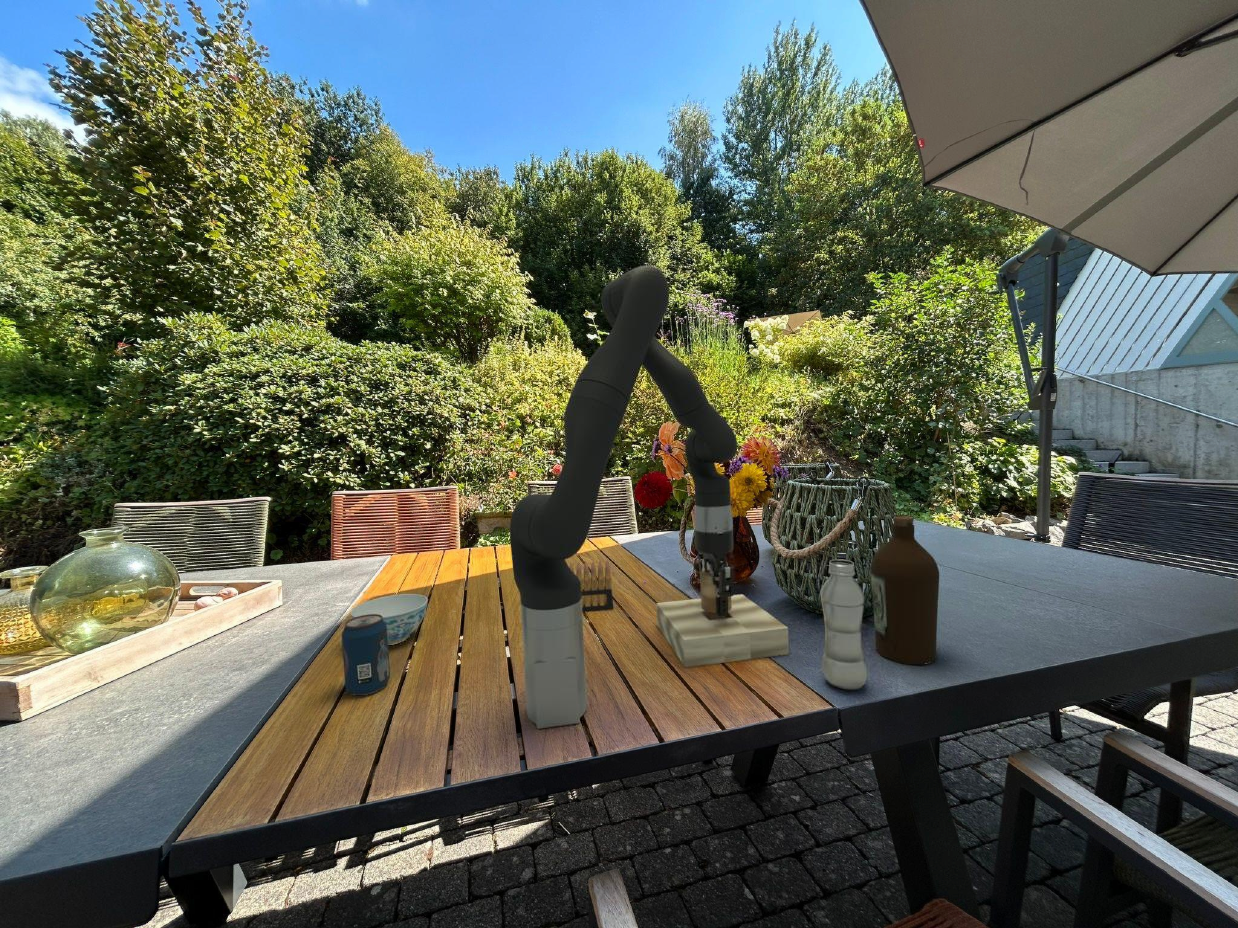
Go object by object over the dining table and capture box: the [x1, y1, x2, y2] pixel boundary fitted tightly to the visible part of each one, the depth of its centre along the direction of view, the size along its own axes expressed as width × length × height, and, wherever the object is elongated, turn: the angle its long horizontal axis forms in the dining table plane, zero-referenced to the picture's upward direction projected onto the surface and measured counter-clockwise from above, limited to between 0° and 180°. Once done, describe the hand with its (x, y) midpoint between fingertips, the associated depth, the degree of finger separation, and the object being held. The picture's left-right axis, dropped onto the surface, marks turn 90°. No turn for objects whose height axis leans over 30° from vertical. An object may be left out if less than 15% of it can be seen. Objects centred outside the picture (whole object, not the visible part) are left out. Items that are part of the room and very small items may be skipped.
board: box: [656, 594, 790, 668], centre depth 97 cm, size 20×20×5 cm
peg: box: [699, 571, 732, 620], centre depth 96 cm, size 6×6×12 cm
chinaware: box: [349, 593, 429, 644], centre depth 103 cm, size 15×15×8 cm
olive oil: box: [870, 515, 940, 665], centre depth 86 cm, size 11×11×25 cm
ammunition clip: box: [569, 560, 614, 613], centre depth 116 cm, size 11×2×12 cm, turn 96°
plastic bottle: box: [820, 559, 868, 691], centre depth 77 cm, size 6×7×20 cm
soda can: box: [341, 614, 391, 696], centre depth 83 cm, size 7×7×12 cm
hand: (716, 609), depth 96 cm, fingers closed on peg, 6 cm apart
